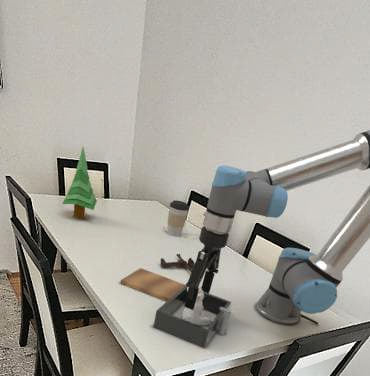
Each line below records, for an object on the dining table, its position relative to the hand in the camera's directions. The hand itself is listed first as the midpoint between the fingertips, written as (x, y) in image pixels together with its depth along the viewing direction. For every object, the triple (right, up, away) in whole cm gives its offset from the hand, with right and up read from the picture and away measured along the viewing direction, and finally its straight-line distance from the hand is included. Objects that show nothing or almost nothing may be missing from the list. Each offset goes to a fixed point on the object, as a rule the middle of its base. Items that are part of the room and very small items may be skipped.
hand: (197, 299), depth 112 cm
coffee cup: (-9, +38, +71) cm, 81 cm away
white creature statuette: (-1, -6, +4) cm, 8 cm away
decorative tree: (-52, +44, +62) cm, 92 cm away
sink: (0, -7, +4) cm, 8 cm away
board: (-14, +6, +19) cm, 24 cm away
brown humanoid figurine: (-6, +16, +37) cm, 41 cm away
